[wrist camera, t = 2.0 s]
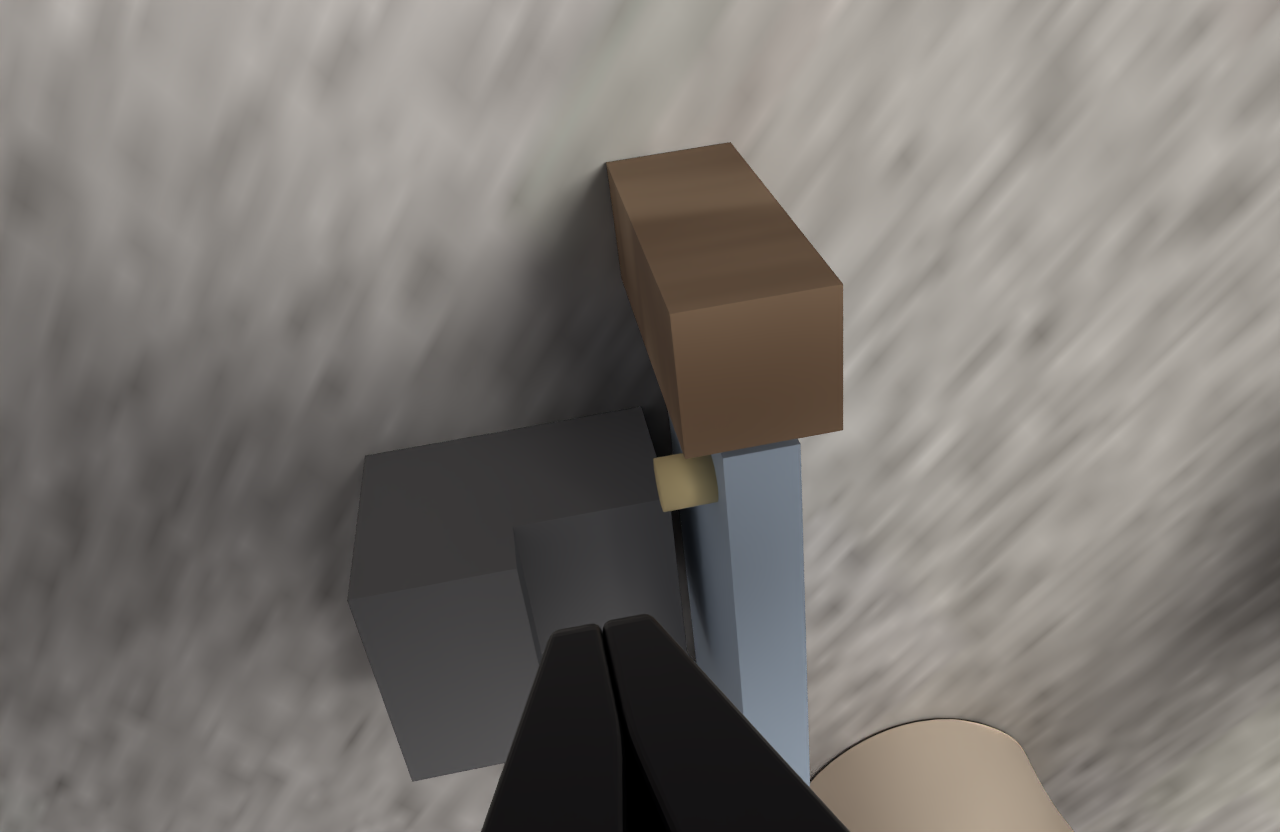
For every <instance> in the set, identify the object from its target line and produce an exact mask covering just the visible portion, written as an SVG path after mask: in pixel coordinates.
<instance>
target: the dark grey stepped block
mask: <svg viewBox="0 0 1280 832" xmlns="http://www.w3.org/2000/svg"><path fill="white" fill-rule="evenodd" d="M654 458H657V457H656V453H655V450H654V447H653V444H652V440H651V437H650V434H649V431H648V428H647V424H646V421H645V418H644V415H643V411H642V408H641V407H637V408H631V409H626V410H620V411H614V412H609V413H603V414H598V415H592V416H586V417H581V418H575V419H569V420H564V421H558V422H553V423H547V424H541V425H536V426H530V427H524V428H519V429H513V430H508V431H502V432H496V433H491V434H485V435H479V436H474V437H468V438H463V439H457V440H451V441H446V442H440V443H434V444H429V445H423V446H417V447H412V448H406V449H401V450H395V451H389V452H384V453H378V454H372V455H367V456H365V462H364V470H363V478H362V486H361V495H360V503H359V511H358V519H357V527H356V535H355V543H354V551H353V559H352V567H351V575H350V583H349V592H348V600H347V601H348V603H349V606H350V609H351V612H352V615H353V617H354V620H355V623H356V626H357V628H358V631H359V634H360V637H361V640H362V642H363V645H364V648H365V651H366V654H367V656H368V659H369V662H370V665H371V667H372V670H373V673H374V676H375V679H376V681H377V684H378V687H379V690H380V693H381V695H382V698H383V701H384V704H385V706H386V709H387V712H388V715H389V718H390V720H391V723H392V726H393V729H394V732H395V734H396V737H397V740H398V743H399V745H400V748H401V751H402V754H403V757H404V759H405V762H406V765H407V768H408V771H409V773H410V776H411V779H412V782H413V781H418V780H423V779H428V778H432V777H437V776H442V775H447V774H452V773H457V772H462V771H467V770H472V769H477V768H482V767H487V766H491V765H496V764H501V763H505V762H506V759H507V756H508V753H509V750H510V748H511V745H512V742H513V739H514V736H515V733H516V730H517V727H518V725H519V722H520V719H521V716H522V713H523V710H524V707H525V705H526V702H527V699H528V696H529V693H530V690H531V687H532V685H533V682H534V679H535V676H536V673H537V670H538V667H539V665H540V662H541V659H542V656H543V653H544V650H545V647H546V645H547V642H548V639H549V637H550V636H551V634H552V633H553V632H555V631H556V630H560V629H565V628H570V627H576V626H581V625H586V624H597V625H599V626H600V628H601V630H602V633H603V626H604V624H605V623H606V622H607V621H609V620H613V619H618V618H624V617H629V616H635V615H640V614H648V615H651V616H652V617H654V618H655V619H656V620H657V621H658V622H659V623H660V624H661V625H662V626H663V628H664V629H665V630H666V631H667V632H668V633H669V634H670V635H671V636H672V637H673V638H674V640H675V641H676V642H677V643H678V644H679V645H680V646H681V647H682V648H683V649H684V651H685V652H686V653H687V648H686V639H685V631H684V622H683V613H682V604H681V596H680V587H679V578H678V569H677V560H676V552H675V543H674V534H673V525H672V517H671V511H668V512H663V510H662V507H661V503H660V499H659V495H658V490H657V485H656V479H655V473H654V464H653V459H654Z"/></svg>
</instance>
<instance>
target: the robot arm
mask: <svg viewBox="0 0 1280 832" xmlns="http://www.w3.org/2000/svg"><path fill="white" fill-rule="evenodd" d="M481 832H850V831H849V830H848V829H847V828H846V826H845V825H844V824H843V823H842V822H841V821H840V820H839V819H838V818H837V817H836V816H835V814H834V813H833V812H832V811H831V810H830V809H829V808H828V807H827V806H826V805H825V803H824V802H823V801H822V800H821V799H820V798H819V797H818V796H817V795H816V794H815V793H814V791H813V790H812V789H811V788H810V787H809V786H808V785H807V784H806V783H805V782H804V781H803V779H802V778H801V777H800V776H799V775H798V774H797V773H796V772H795V771H794V770H793V769H792V767H791V766H790V765H789V764H788V763H787V762H786V761H785V760H784V759H783V758H782V757H781V755H780V754H779V753H778V752H777V751H776V750H775V749H774V748H773V747H772V746H771V744H770V743H769V742H768V741H767V740H766V739H765V738H764V737H763V736H762V735H761V734H760V732H759V731H758V730H757V729H756V728H755V727H754V726H753V725H752V724H751V723H750V722H749V720H748V719H747V718H746V717H745V716H744V715H743V714H742V713H741V712H740V711H739V710H738V708H737V707H736V706H735V705H734V704H733V703H732V702H731V701H730V700H729V699H728V698H727V696H726V695H725V694H724V693H723V692H722V691H721V690H720V689H719V688H718V687H717V685H716V684H715V683H714V682H713V681H712V680H711V679H710V678H709V677H708V676H707V675H706V673H705V672H704V671H703V670H702V669H701V668H700V667H699V666H698V665H697V664H696V663H695V661H694V660H693V659H692V658H691V657H690V656H689V655H688V654H687V653H686V652H685V651H684V649H683V648H682V647H681V646H680V645H679V644H678V643H677V642H676V641H675V640H674V638H673V637H672V636H671V635H670V634H669V633H668V632H667V631H666V630H665V629H664V628H663V626H662V625H661V624H660V623H659V622H658V621H657V620H656V619H655V618H654V617H652V616H651V615H648V614H640V615H635V616H629V617H624V618H618V619H613V620H609V621H607V622H606V623H605V624H604V626H603V633H602V630H601V628H600V626H599V625H597V624H586V625H581V626H576V627H570V628H565V629H560V630H556V631H555V632H553V633H552V634H551V636H550V637H549V639H548V642H547V645H546V647H545V650H544V653H543V656H542V659H541V662H540V665H539V667H538V670H537V673H536V676H535V679H534V682H533V685H532V687H531V690H530V693H529V696H528V699H527V702H526V705H525V707H524V710H523V713H522V716H521V719H520V722H519V725H518V727H517V730H516V733H515V736H514V739H513V742H512V745H511V748H510V750H509V753H508V756H507V759H506V762H505V765H504V768H503V770H502V773H501V776H500V779H499V782H498V785H497V788H496V790H495V793H494V796H493V799H492V802H491V805H490V808H489V810H488V813H487V816H486V819H485V822H484V825H483V828H482V830H481Z"/></svg>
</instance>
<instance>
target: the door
mask: <svg viewBox="0 0 1280 832" xmlns="http://www.w3.org/2000/svg"><path fill="white" fill-rule="evenodd" d="M668 415H669V412H668ZM669 424H670V432H671V441H672V450H673V455H669V456H664V457H658V458H654V459H653V464H654V473H655V479H656V485H657V490H658V495H659V499H660V503H661V507H662V510H663V512H668V511H673V510H678V509H679V512H680V521H681V530H682V539H683V548H684V556H685V565H686V574H687V583H688V592H689V601H690V610H691V618H692V627H693V636H694V645H695V654H696V663H697V665H698V666H699V667H700V668H701V669H702V670H703V671H704V672H705V673H706V675H707V676H708V677H709V678H710V679H711V680H712V681H713V682H714V683H715V684H716V685H717V687H718V688H719V689H720V690H721V691H722V692H723V693H724V694H725V695H726V696H727V698H728V699H729V700H730V701H731V702H732V703H733V704H734V705H735V706H736V707H737V708H738V710H739V711H740V712H741V713H742V714H743V715H744V716H745V717H746V718H747V719H748V720H749V722H750V723H751V724H752V725H753V726H754V727H755V728H756V729H757V730H758V731H759V732H760V734H761V735H762V736H763V737H764V738H765V739H766V740H767V741H768V742H769V743H770V744H771V746H772V747H773V748H774V749H775V750H776V751H777V752H778V753H779V754H780V755H781V757H782V758H783V759H784V760H785V761H786V762H787V763H788V764H789V765H790V766H791V767H792V769H793V770H794V771H795V772H796V773H797V774H798V775H799V776H800V777H801V778H802V779H803V781H804V782H805V783H806V784H807V785H808V786H809V787H810V767H809V731H808V696H807V661H806V626H805V590H804V555H803V520H802V485H801V450H800V443H799V441H798V439H792V440H787V441H781V442H776V443H771V444H765V445H760V446H754V447H749V448H744V449H738V450H733V451H727V452H722V453H717V454H711V455H706V456H700V457H695V458H690V459H685V458H684V455H683V452H682V449H681V446H680V443H679V441H678V438H677V435H676V432H675V429H674V426H673V423H672V421H671V418H670V415H669Z"/></svg>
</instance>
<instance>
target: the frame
mask: <svg viewBox="0 0 1280 832" xmlns="http://www.w3.org/2000/svg"><path fill="white" fill-rule="evenodd" d="M606 165H607V173H608V180H609V188H610V195H611V203H612V211H613V218H614V226H615V233H616V241H617V249H618V256H619V264H620V271H621V279H622V281H623V284H624V287H625V290H626V293H627V296H628V298H629V301H630V304H631V307H632V310H633V313H634V316H635V318H636V321H637V324H638V327H639V330H640V333H641V335H642V338H643V341H644V344H645V347H646V350H647V352H648V355H649V358H650V361H651V364H652V367H653V370H654V372H655V375H656V378H657V381H658V384H659V387H660V389H661V392H662V395H663V398H664V401H665V404H666V406H667V409H668V412H669V415H670V418H671V421H672V423H673V426H674V429H675V432H676V435H677V438H678V441H679V443H680V446H681V449H682V452H683V455H684V458H685V459H690V458H695V457H700V456H706V455H711V454H717V453H722V452H727V451H733V450H738V449H744V448H749V447H754V446H760V445H765V444H771V443H776V442H781V441H787V440H792V439H798V438H803V437H808V436H814V435H819V434H824V433H830V432H835V431H841V430H843V283H842V282H841V281H840V280H839V278H838V277H837V276H836V275H835V273H834V272H833V271H832V270H831V268H830V267H829V266H828V265H827V263H826V262H825V261H824V260H823V258H822V257H821V256H820V254H819V253H818V252H817V251H816V249H815V248H814V247H813V246H812V244H811V243H810V242H809V241H808V239H807V238H806V237H805V236H804V234H803V233H802V232H801V231H800V229H799V228H798V227H797V225H796V224H795V223H794V222H793V220H792V219H791V218H790V217H789V215H788V214H787V213H786V212H785V210H784V209H783V208H782V207H781V205H780V204H779V203H778V202H777V200H776V199H775V198H774V197H773V195H772V194H771V193H770V191H769V190H768V189H767V188H766V186H765V185H764V184H763V183H762V181H761V180H760V179H759V178H758V176H757V175H756V174H755V173H754V171H753V170H752V169H751V168H750V166H749V165H748V164H747V162H746V161H745V160H744V159H743V157H742V156H741V155H740V154H739V152H738V151H737V150H736V149H735V147H734V146H733V145H732V144H731V142H730V143H724V144H718V145H711V146H705V147H699V148H693V149H687V150H680V151H674V152H668V153H662V154H656V155H650V156H643V157H637V158H631V159H625V160H619V161H612V162H606Z"/></svg>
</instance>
